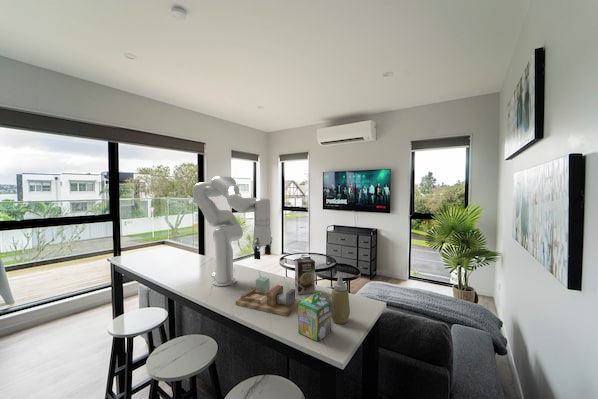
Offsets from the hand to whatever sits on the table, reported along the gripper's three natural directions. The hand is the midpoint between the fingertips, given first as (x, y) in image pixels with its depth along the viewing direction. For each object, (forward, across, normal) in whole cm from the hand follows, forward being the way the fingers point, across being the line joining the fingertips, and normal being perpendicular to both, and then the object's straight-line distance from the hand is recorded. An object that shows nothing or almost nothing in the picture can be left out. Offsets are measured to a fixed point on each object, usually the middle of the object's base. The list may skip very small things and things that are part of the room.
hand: (262, 256), depth 128 cm
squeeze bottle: (+18, +11, +43) cm, 48 cm away
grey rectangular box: (+16, +10, +16) cm, 25 cm away
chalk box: (+18, +23, +37) cm, 47 cm away
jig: (+18, +10, +10) cm, 23 cm away
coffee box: (+18, -10, +19) cm, 28 cm away
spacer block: (+18, 0, 0) cm, 18 cm away
